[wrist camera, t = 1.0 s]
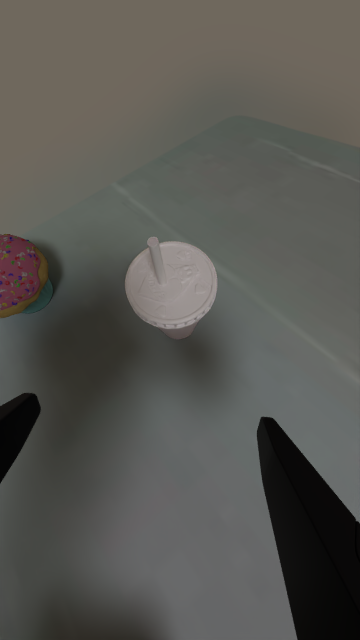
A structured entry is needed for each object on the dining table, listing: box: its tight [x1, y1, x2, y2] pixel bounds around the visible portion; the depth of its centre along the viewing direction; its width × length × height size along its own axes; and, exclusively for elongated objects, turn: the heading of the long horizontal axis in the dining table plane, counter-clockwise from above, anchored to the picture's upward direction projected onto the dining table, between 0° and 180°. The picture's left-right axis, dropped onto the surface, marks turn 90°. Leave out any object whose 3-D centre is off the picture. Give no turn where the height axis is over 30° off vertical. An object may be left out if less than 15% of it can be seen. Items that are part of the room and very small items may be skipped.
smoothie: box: [125, 237, 217, 339], centre depth 18 cm, size 6×6×14 cm
